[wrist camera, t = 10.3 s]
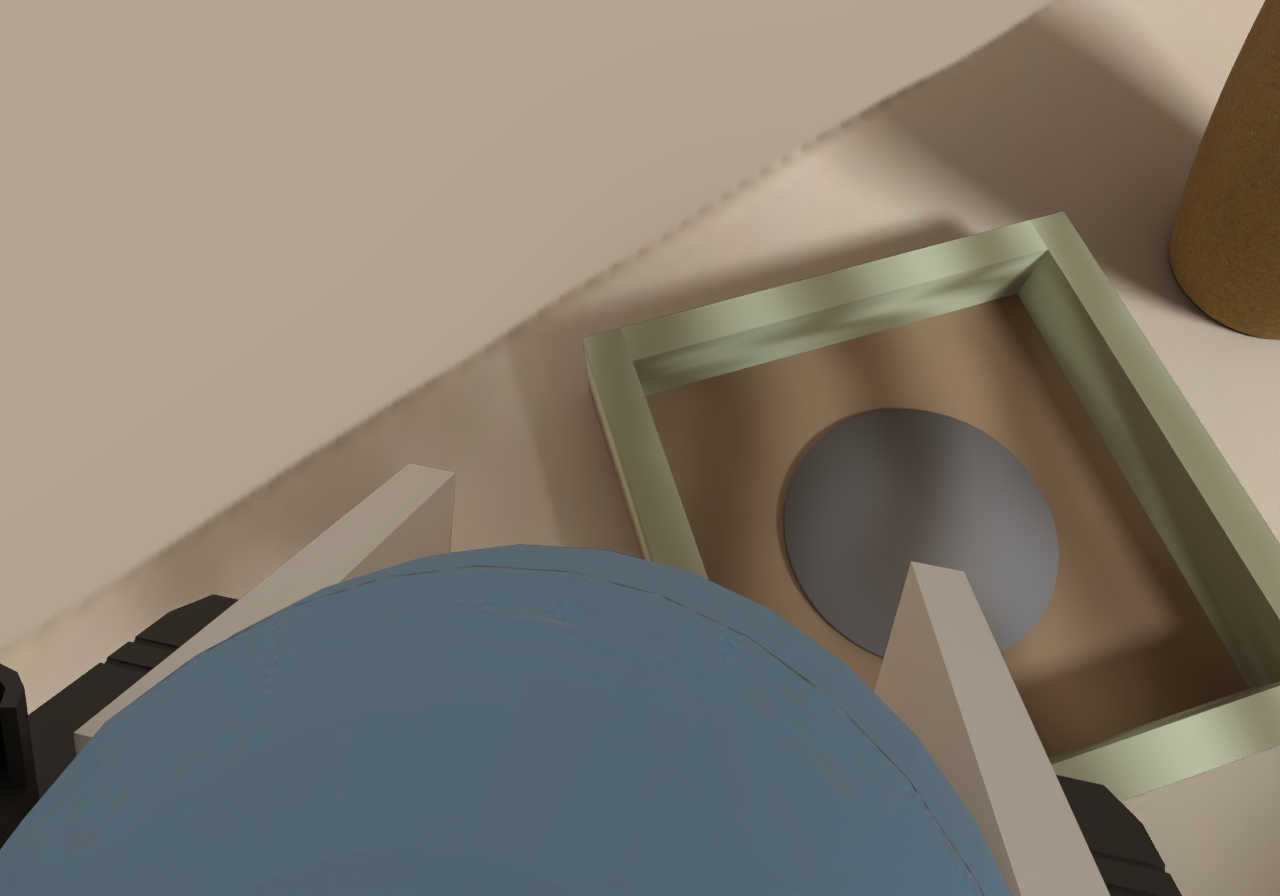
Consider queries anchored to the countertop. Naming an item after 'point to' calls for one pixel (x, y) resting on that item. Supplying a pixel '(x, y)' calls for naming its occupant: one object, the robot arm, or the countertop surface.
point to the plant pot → (1237, 194)
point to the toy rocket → (506, 752)
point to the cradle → (965, 488)
